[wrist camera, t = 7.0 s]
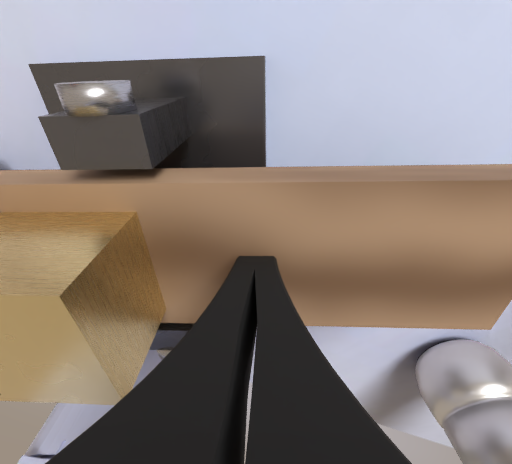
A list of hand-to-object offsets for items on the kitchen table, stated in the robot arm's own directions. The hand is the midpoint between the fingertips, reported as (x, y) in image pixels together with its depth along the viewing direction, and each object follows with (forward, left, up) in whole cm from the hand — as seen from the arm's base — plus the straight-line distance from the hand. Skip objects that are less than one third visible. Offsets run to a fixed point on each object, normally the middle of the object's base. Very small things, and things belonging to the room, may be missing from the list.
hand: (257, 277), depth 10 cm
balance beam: (0, +5, -5) cm, 7 cm away
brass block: (0, +7, -1) cm, 7 cm away
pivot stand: (0, +5, -7) cm, 8 cm away
